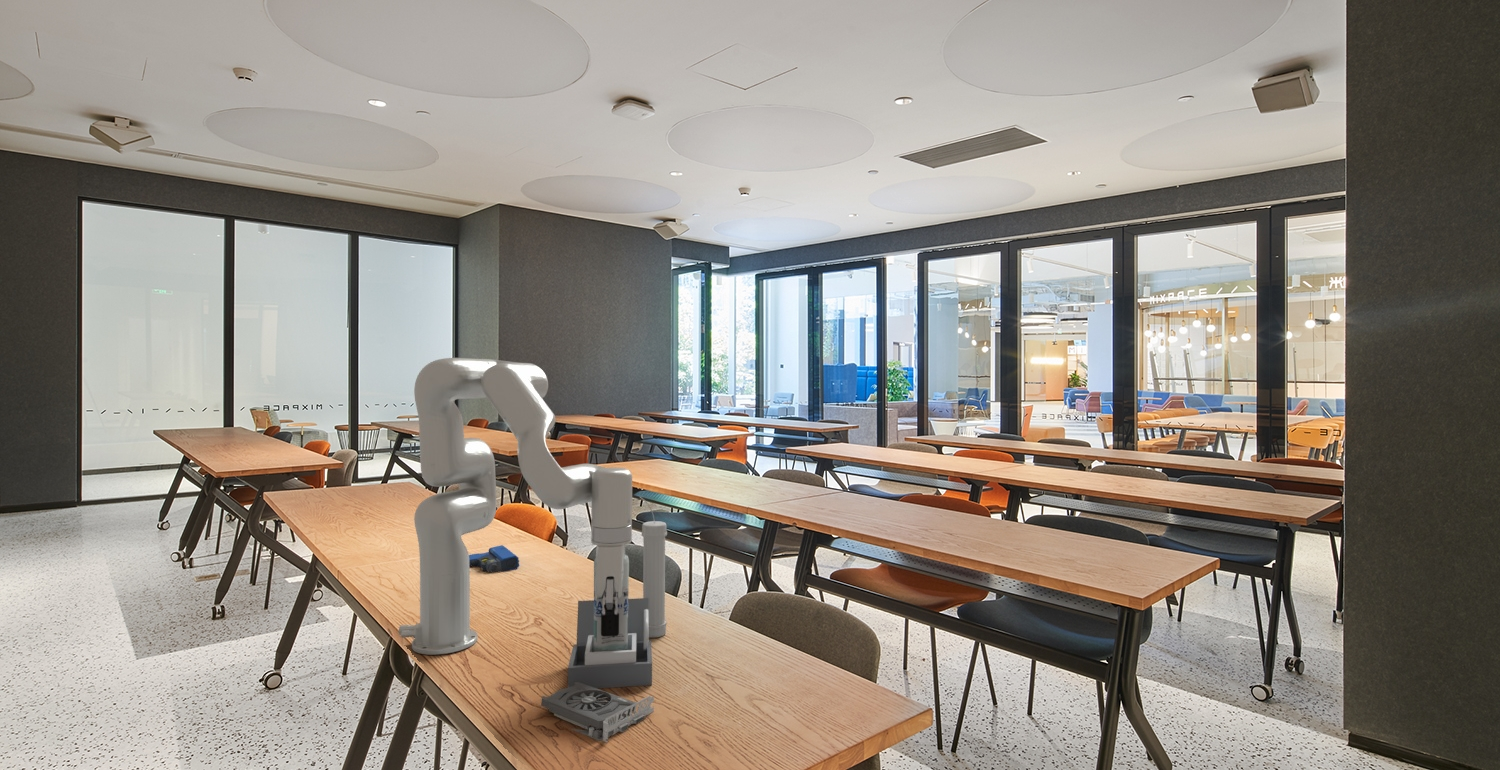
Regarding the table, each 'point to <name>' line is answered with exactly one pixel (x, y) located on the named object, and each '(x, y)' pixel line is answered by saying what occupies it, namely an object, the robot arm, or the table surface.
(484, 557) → the stun gun
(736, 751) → the table surface
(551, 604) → the table surface
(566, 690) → the graphics card
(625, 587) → the spray paint can
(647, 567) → the pipe
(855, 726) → the table surface
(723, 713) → the table surface
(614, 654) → the case
